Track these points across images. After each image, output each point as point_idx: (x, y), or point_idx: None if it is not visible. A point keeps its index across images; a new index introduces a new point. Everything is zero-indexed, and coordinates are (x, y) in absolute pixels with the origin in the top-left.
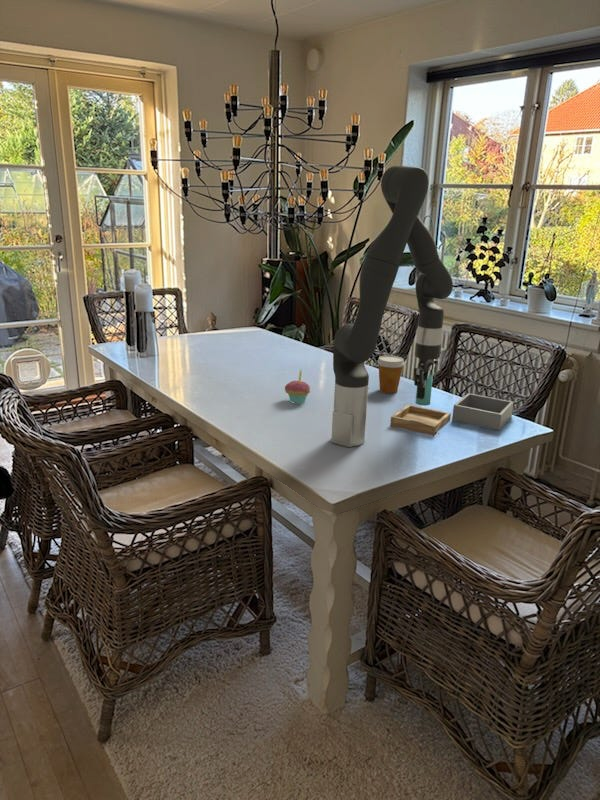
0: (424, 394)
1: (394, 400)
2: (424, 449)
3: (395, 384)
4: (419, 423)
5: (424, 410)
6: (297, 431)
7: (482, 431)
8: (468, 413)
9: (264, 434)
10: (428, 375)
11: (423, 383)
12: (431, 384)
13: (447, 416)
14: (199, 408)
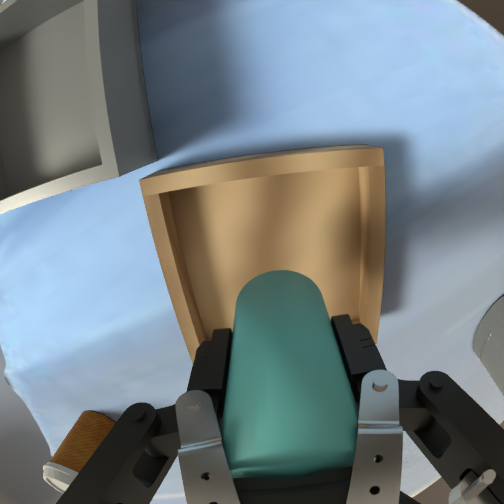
0: (338, 331)
1: (139, 401)
2: (485, 129)
3: (92, 432)
4: (384, 227)
5: (187, 296)
6: (477, 401)
7: (154, 21)
8: (117, 86)
9: (496, 410)
10: (382, 463)
11: (427, 395)
12: (288, 372)
13: (189, 169)
14: (423, 485)
